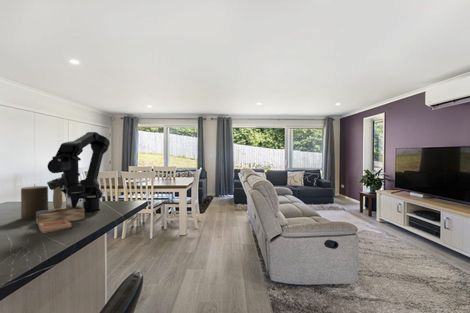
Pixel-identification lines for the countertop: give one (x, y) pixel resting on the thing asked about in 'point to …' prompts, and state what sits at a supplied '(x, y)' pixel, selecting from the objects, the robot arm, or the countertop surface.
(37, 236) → the countertop surface
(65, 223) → the rack tray
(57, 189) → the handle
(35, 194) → the pillar candle
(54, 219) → the socket block
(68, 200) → the grey tall cylinder
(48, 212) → the grey rectangular metal block
